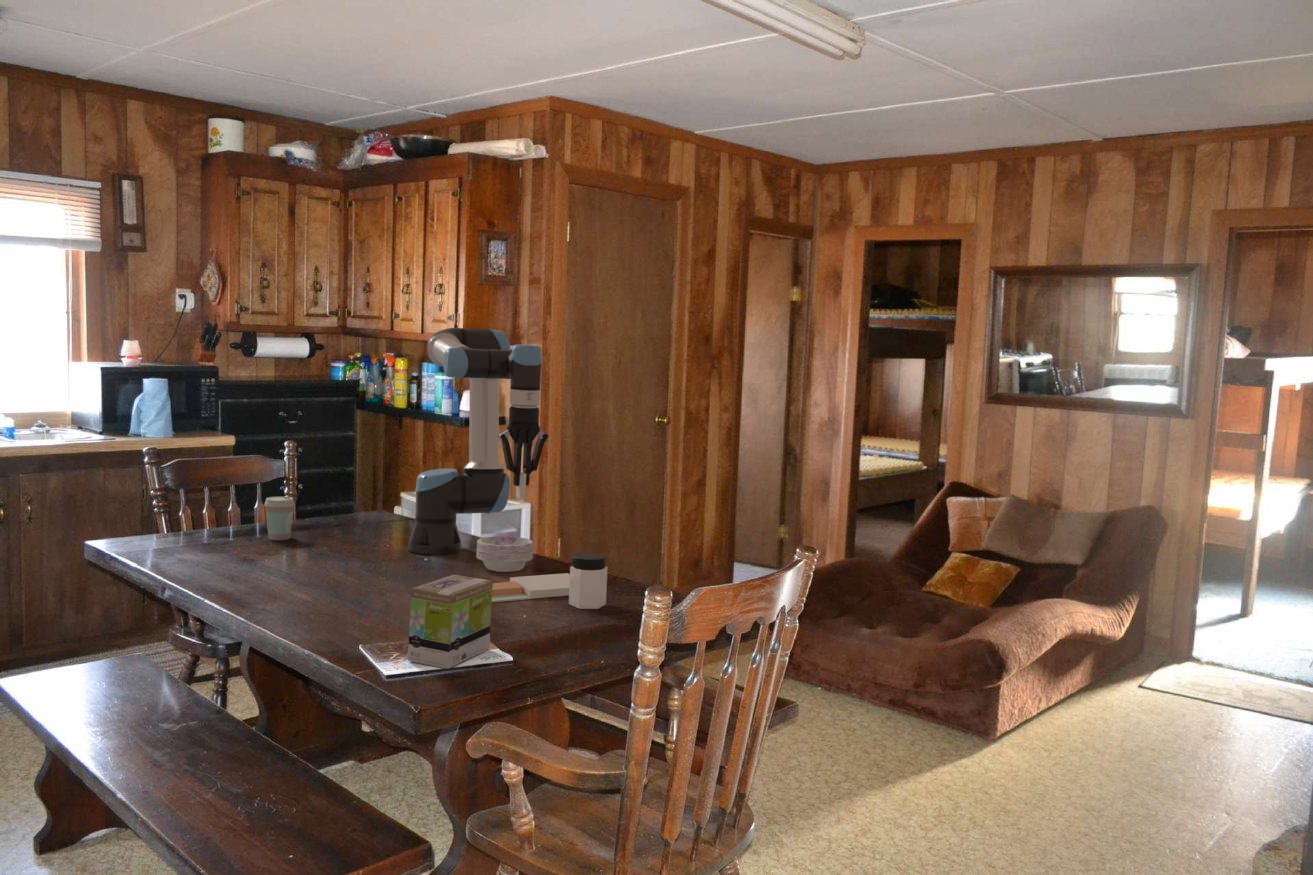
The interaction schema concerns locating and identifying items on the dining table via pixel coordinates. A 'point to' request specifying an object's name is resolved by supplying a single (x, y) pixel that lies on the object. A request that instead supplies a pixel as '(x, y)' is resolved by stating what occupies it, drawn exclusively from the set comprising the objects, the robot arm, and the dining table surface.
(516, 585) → the tile
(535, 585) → the pale grey flat slab
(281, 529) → the coffee cup
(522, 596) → the mat
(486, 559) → the paper bowls
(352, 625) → the dining table surface
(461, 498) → the robot arm
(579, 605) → the jar
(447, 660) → the tea box
